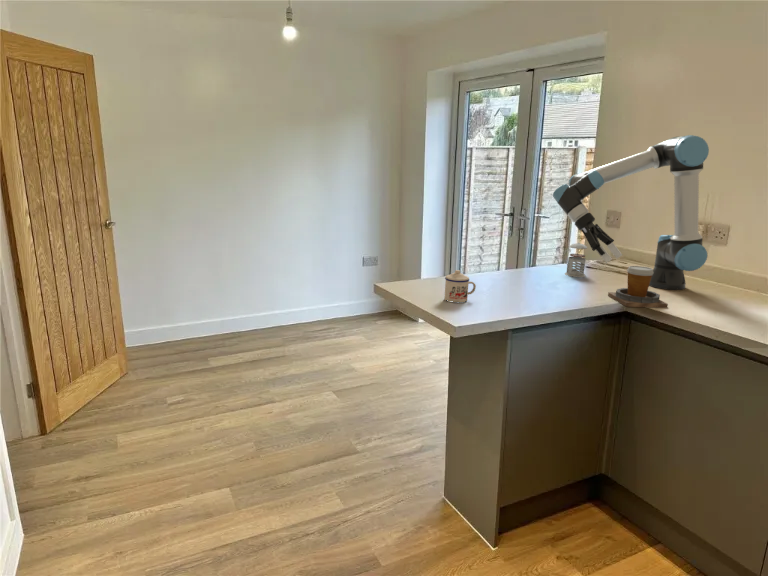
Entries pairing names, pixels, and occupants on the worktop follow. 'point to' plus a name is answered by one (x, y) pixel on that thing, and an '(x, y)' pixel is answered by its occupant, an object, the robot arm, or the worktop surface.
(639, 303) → the docking plate
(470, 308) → the worktop surface
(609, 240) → the robot arm
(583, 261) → the french press
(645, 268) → the disposable coffee cup
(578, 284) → the worktop surface
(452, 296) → the teacup with lid
